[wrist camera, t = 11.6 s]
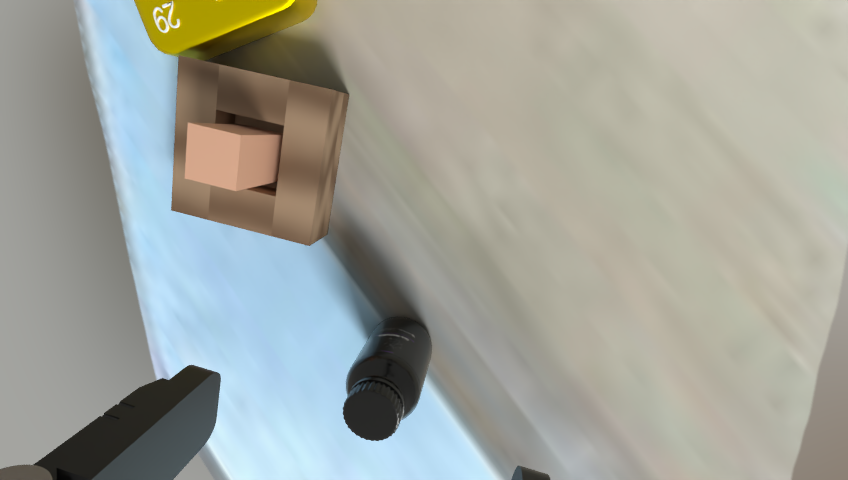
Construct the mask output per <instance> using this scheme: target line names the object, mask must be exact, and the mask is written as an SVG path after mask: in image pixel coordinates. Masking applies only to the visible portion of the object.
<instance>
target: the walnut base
mask: <svg viewBox="0 0 848 480" xmlns="http://www.w3.org/2000/svg"><path fill="white" fill-rule="evenodd" d="M348 99H349V94H346V93H342V92H339V91H335V90H332V89H327V88H323V87H319V86H314V85H310V84H305V83H301V82H296V81H292V80H287V79H283V78H278V77H274V76H269V75H265V74H260V73H256V72H252V71H247V70H243V69H238V68H234V67H229V66H225V65H220V64H216V63H211V62H207V61H202V60H198V59H193V58H189V57H185V56H180V55H179V60H178V81H177V102H176V123H175V144H174V165H173V186H172V207H171V210H172V211H176V212H180V213H184V214H188V215H192V216H196V217H200V218H203V219H207V220H211V221H215V222H219V223H223V224H227V225H231V226H234V227H238V228H242V229H246V230H250V231H254V232H258V233H262V234H265V235H269V236H273V237H277V238H281V239H285V240H289V241H293V242H297V243H300V244H304V245H308V246H310V245H311V244H313V243H315V242H316V241H318V240H319V239H321V238H323V237H324V236H326V235H327V232H328V226H329V220H330V213H331V207H332V201H333V194H334V188H335V182H336V175H337V169H338V163H339V156H340V150H341V144H342V137H343V131H344V125H345V118H346V112H347V105H348ZM188 123H213V124H239V125H249V126H253V127H257V128H261V129H266V130H270V131H274V132H278V133H283V140H282V148H281V157H280V165H279V174H278V182H274V183H269V184H265V185H261V186H256V187H252V188H247V189H243V190H239V191H233V190H229V189H225V188H221V187H217V186H213V185H209V184H205V183H201V182H197V181H193V180H189V179H185V163H186V145H187V127H188Z"/></svg>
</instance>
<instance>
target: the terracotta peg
mask: <svg viewBox="0 0 848 480" xmlns="http://www.w3.org/2000/svg"><path fill="white" fill-rule="evenodd" d="M282 140H283V133H278V132H274V131H270V130H266V129H261V128H257V127H253V126H249V125H239V124H213V123H188V127H187V145H186V163H185V179H189V180H193V181H197V182H201V183H205V184H209V185H213V186H217V187H221V188H225V189H229V190H233V191H239V190H243V189H247V188H252V187H256V186H261V185H265V184H269V183H274V182H278V174H279V165H280V157H281V148H282Z"/></svg>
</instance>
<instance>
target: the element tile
mask: <svg viewBox="0 0 848 480" xmlns="http://www.w3.org/2000/svg"><path fill="white" fill-rule="evenodd" d="M134 1H135V4H136V6H137V9H138V11H139V14H140V16H141V19H142V21H143V24H144V26H145V29H146V31H147V34H148V36H149V38H150V40H151V42H152V43H153V44H154V45H155V47H156V48H157V49H158V50H160V51H161V52H163V53H165V54H168V55H172V56H176V57H179V55H180V56H185V57H189V58H193V59H198V60H202V61H205V60H208V59H210V58H213V57H215V56H218V55H220V54H223V53H225V52H228V51H230V50H233V49H235V48H238V47H240V46H243V45H245V44H248V43H250V42H253V41H255V40H258V39H260V38H263V37H265V36H268V35H270V34H273V33H275V32H278V31H280V30H283V29H285V28H288V27H290V26H293V25H295V24H298V23H300V22H303V21H304V20H306V19H308V18H309V17H310V16H311V15H312V14H313V12H314V11H315V8H316V6H317V0H134Z"/></svg>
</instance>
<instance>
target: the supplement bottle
mask: <svg viewBox="0 0 848 480" xmlns="http://www.w3.org/2000/svg"><path fill="white" fill-rule="evenodd" d="M431 354H432V344H431V340H430V337H429V335H428V333H427V332H426V331H425V329H424V328H423V327H422V326H421V325H420V324H418V323H417V322H415V321H413V320H411V319H408V318H403V317H394V318H390V319H387V320H385V321H383V322H381V323H380V324H379V325H378V326H377V327H376V328H375V329H374V331H373V332H372V334H371V335H370V337H369V339H368V340H367V342H366V344H365V345H364V347H363V348H362V350H361V352H360V353H359V355H358V357H357V358H356V360H355V362H354V363H353V365H352V367H351V368H350V370H349V373H348V375H347V379H346V392H347V396H348V397H347V399H346V401H345V403H344V407H343V415H344V420H345V423H346V424H347V425H348V428H350V429H351V431H352V432H354V433H355V434H356V435H358V436H360V437H361V438H364V439H366V440H371V441H374V440H375V441H379V440H384V439H386V438H388V437H389V436H392V434H393V433H395V431H396V429H397V428H398V426H399V423H400V421H401V420H403V419H404V418H406V417H407V416H409V415H410V414H411V413H412V412H413V411H414V409H415V408H416V406H417V404H418V401H419V398H420V395H421V391H422V388H423V384H424V381H425V377H426V373H427V370H428V366H429V363H430V359H431Z"/></svg>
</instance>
